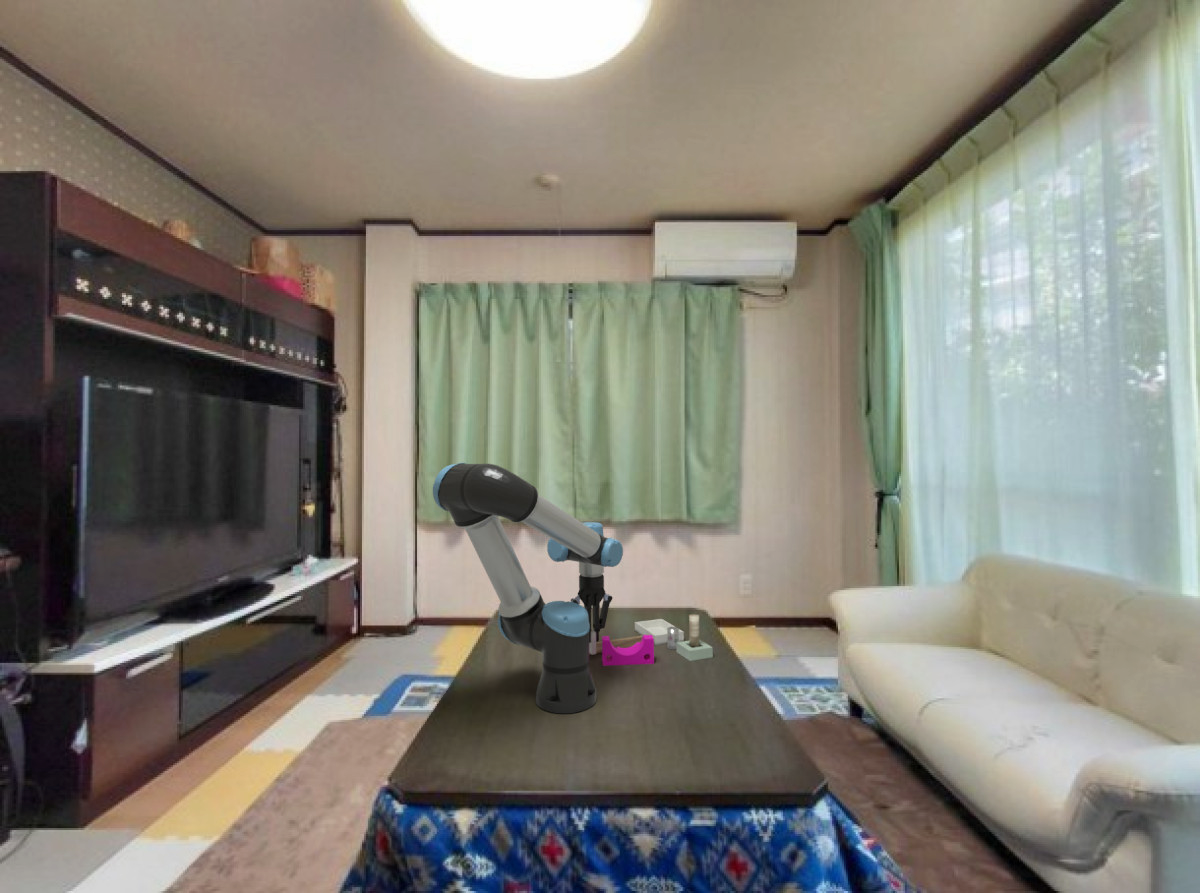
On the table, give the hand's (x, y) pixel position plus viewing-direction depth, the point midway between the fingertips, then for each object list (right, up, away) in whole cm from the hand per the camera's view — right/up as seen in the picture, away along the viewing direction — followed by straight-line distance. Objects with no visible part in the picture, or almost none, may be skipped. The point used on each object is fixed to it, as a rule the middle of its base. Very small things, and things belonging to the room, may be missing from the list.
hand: (592, 652), depth 164 cm
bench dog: (+26, -2, +10) cm, 27 cm away
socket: (+31, -2, +3) cm, 32 cm away
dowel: (+31, -2, +3) cm, 32 cm away
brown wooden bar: (+7, -2, +8) cm, 11 cm away
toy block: (+11, -2, -1) cm, 11 cm away
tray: (+22, -2, +21) cm, 31 cm away
